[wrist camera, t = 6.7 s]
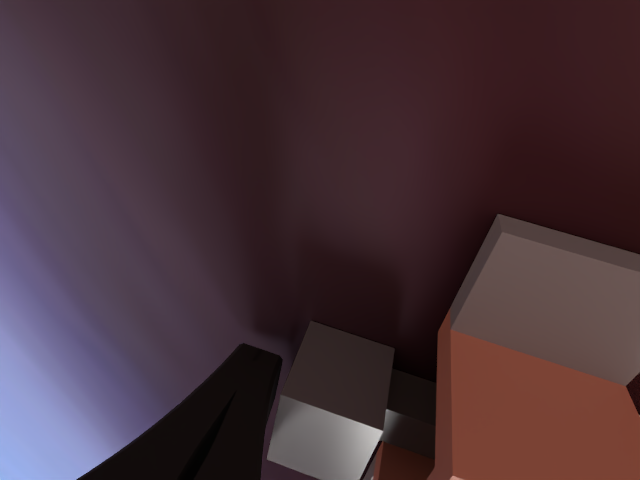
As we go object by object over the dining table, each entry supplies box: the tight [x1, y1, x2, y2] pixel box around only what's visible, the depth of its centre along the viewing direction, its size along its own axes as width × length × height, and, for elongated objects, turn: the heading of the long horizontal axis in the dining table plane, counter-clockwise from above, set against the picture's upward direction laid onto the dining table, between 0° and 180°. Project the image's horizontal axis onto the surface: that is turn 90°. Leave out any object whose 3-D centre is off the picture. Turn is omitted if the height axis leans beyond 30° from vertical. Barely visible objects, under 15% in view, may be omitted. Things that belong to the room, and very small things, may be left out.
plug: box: [267, 321, 640, 480], centre depth 11 cm, size 10×4×3 cm, turn 79°
